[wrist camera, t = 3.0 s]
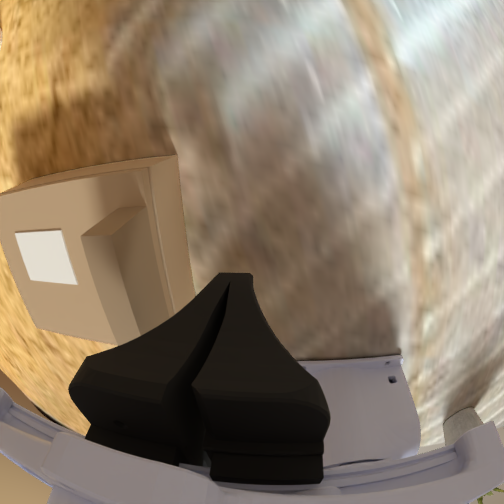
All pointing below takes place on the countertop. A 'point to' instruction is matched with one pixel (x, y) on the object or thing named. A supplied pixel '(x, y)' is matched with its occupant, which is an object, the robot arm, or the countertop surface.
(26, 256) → the lid
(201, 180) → the countertop surface
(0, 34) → the white cup
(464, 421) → the house plant
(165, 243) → the mailer
